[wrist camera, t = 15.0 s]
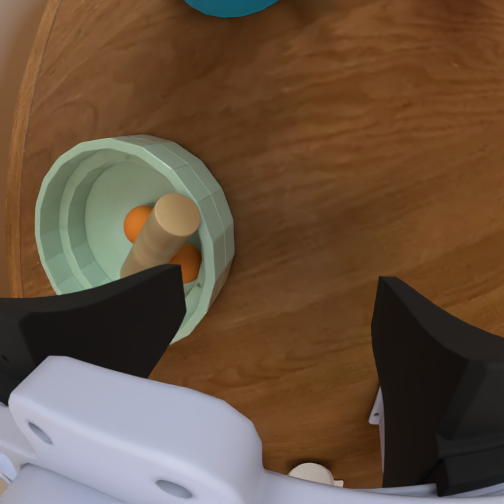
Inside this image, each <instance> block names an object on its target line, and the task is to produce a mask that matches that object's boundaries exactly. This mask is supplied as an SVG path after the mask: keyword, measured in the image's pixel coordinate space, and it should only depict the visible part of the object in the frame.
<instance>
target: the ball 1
mask: <svg viewBox="0 0 504 504" xmlns="http://www.w3.org/2000/svg"><path fill="white" fill-rule="evenodd" d="M152 210H153V207H151V206H147V205H141V206H137V207H135V208H133V209H132V210H131V211H130V212H129V213H128V214H127V215H126V217H125V220H124V233H125V235H126V237H127V239H128V240H129V241H130V242H131V243H133V244H134V242H135V240H136V238H137V237H138V235H139V233H140V231H141V229H142V227H143V226H144V224H145V222H146V220H147V218H148V217H149V215H150V213H151V211H152Z"/></svg>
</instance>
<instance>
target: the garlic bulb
mask: <svg viewBox="0 0 504 504" xmlns="http://www.w3.org/2000/svg"><path fill="white" fill-rule="evenodd" d="M287 475H289V476H293V477H297V478H301V479H305V480H309V481H314V482H318V483H323V484H328V485H333V486H334V479H333V476H332V474H331V472H330V471H329V470H328V469H326V468H325V467H324V466H322V465H318V464H314V463H304V464H301V465H299V466H297V467H295V468H294V469H292V470H291V471H290V472H289V473H288V474H287Z"/></svg>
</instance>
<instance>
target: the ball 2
mask: <svg viewBox="0 0 504 504" xmlns="http://www.w3.org/2000/svg"><path fill="white" fill-rule="evenodd" d="M201 262H202V254H201V252H200V251H199V250H198V248H197V247H195V246H194V245H192V244H190V243H187V242H186V243H185V244H184V245H183V246H182V248H181V249H180V250H179V251H178V252H177V253H176V254H175V256H174V257H173V258H172V259H171V260H170V261H169V263H168V264H179V265H181V269H182V277H183V284H187V283H190V282H192V281H194V280H195V279H197V278H198V274H199V270H200V266H201Z"/></svg>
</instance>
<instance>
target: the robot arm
mask: <svg viewBox="0 0 504 504" xmlns="http://www.w3.org/2000/svg"><path fill="white" fill-rule="evenodd" d="M186 313H187V309H186V301H185V293H184V286H183V277H182V269H181V265H179V264H162V265H158V266H154V267H151V268H148V269H146V270H143V271H140V272H137V273H135V274H132V275H129V276H127V277H124V278H121V279H118V280H115V281H112V282H109V283H106V284H103V285H100V286H97V287H94V288H90V289H86V290H82V291H78V292H73V293H67V294H61V295H55V296H48V297H36V298H0V477H1V478H2V479H3V480H5V481H6V482H7V483H8V484H9V486H8V488H7V489H6V490H5V492H4V493H3V494H2V496H1V497H0V504H504V338H503V337H500V336H497V335H494V334H491V333H489V332H486V331H484V330H481V329H479V328H477V327H474V326H472V325H470V324H468V323H466V322H464V321H462V320H460V319H458V318H456V317H454V316H453V315H451V314H449V313H448V312H446V311H444V310H443V309H441V308H440V307H438V306H437V305H435V304H434V303H432V302H431V301H429V300H428V299H426V298H425V297H424V296H422V295H421V294H420V293H418V292H417V291H416V290H414V289H413V288H412V287H410V286H409V285H408V284H406V283H405V282H403V281H402V280H400V279H399V278H397V277H383V276H379V281H378V288H377V294H376V300H375V306H374V312H373V318H372V323H371V334H372V347H373V353H374V358H375V363H376V367H377V372H378V377H379V382H380V387H379V390H378V393H377V396H376V399H375V402H374V405H373V408H372V411H371V414H370V417H369V423H370V424H379V431H380V443H381V457H382V470H383V484H382V488H374V489H350V488H344V487H338V486H333V485H328V484H323V483H318V482H314V481H309V480H305V479H301V478H297V477H293V476H289V475H285V474H281V473H278V472H274V471H271V470H267V469H264V467H263V464H262V442H261V440H260V438H259V436H258V434H257V431H256V429H255V427H254V425H253V423H252V422H251V421H250V420H249V419H248V418H247V417H245V416H244V415H243V414H241V413H240V412H238V411H237V410H236V409H234V408H233V407H232V406H230V405H229V404H228V403H227V402H225V401H224V400H222V399H219V398H216V397H213V396H211V395H208V394H205V393H202V392H199V391H197V390H194V389H191V388H187V387H182V386H177V385H172V384H167V383H162V382H158V381H154V380H149V379H147V378H148V376H149V375H150V373H151V371H152V370H153V368H154V367H155V365H156V364H157V362H158V361H159V359H160V358H161V356H162V355H163V353H164V352H165V351H166V349H167V348H168V346H169V345H170V343H171V342H172V340H173V338H174V337H175V335H176V334H177V332H178V330H179V328H180V326H181V324H182V322H183V320H184V317H185V315H186Z"/></svg>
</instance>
